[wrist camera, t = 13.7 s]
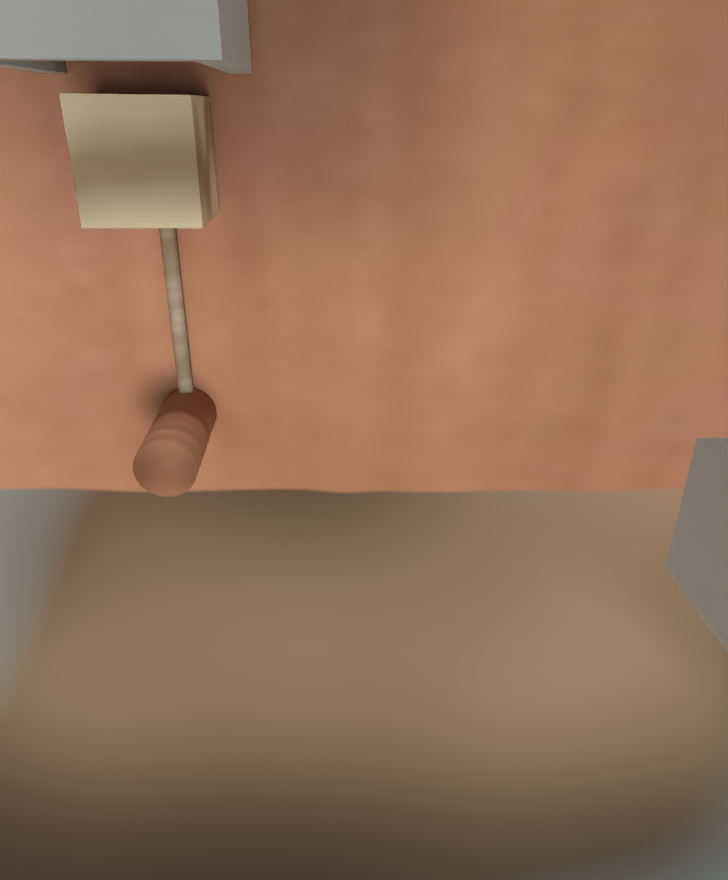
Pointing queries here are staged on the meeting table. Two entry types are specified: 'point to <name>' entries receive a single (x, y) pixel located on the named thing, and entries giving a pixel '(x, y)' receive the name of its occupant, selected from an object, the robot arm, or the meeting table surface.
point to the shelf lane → (124, 33)
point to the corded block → (152, 206)
